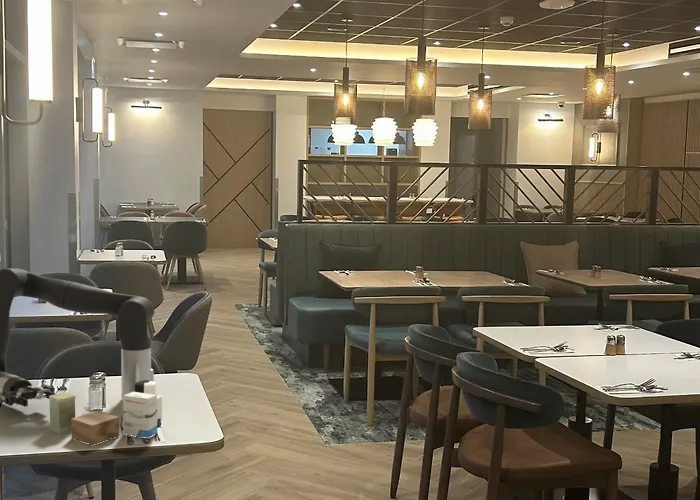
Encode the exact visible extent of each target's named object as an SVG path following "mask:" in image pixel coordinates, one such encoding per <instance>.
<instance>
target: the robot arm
mask: <svg viewBox="0 0 700 500" xmlns="http://www.w3.org/2000/svg"><path fill="white" fill-rule="evenodd" d="M15 297H26V298H33V299H38V300H42V301H43V302H44V301H45V302H47V303H48V304H50V305H52V306H53V307H57V308H59V309H61V310H66V311H68V312H69V311H71V312H74V313H79V314H92V315H93V314H94V315H95V314H97V315H99V314H100V315H111V316H116V317H117V321H118V322H117V324H118V339H119V342H120V347H121V350H120V353H121V354H120V358H121V359H120V360H121V368H120V369H121V402H123V396H124V395H126V394H128V393H131V392H135V383H137V382H139V381H142V380H150V381H153V382H155V378H154V377H155V371H154V369H153V368H152V339H151V337H150V336H149V335H148V322H150V320H151V319H153V317H154V315H155V307H154V305H153V304H154V303H152V301H151V300H149V299H148V298H146V297H144V296H140V295H133V294H132V295H131V294H125V293H118V292H112V291H109V290H106V289H103V288H99V287H95V286H92V285H88V284H84V283H79V282H75V281H71V280H64V279H60V278H50V277H46V276H43V275H39V274H36V273H32V272H30V271H27V270H25V269H22V268H17V267H8V268H7V267H6V268H1V269H0V396H1V402H2V403H4V404H6V405H7V406H9V407H10V406H14V404H15V405H16V406H23V407H24V408H26V407H29V406H28V405H29V400H33V399H34V400H42V399H43V398H44V399H48V400H50V399H49V396H51V395H55V394H56V392H55V387H54V386H50V385H48V384H45V383H43V384H41V385H40V386H34V385H32V383H31V382H30V381H29V380H28V379H26V378H24V377H21V376H18V375H15V374H11V373H9V372H7V371H8V370H7V353H8V348H9V343H10V340H11V339H10V338H11V321H10V317H11V316H10V313H11V312H10V311H11V307H12V303H13V300H14V298H15Z"/></svg>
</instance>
